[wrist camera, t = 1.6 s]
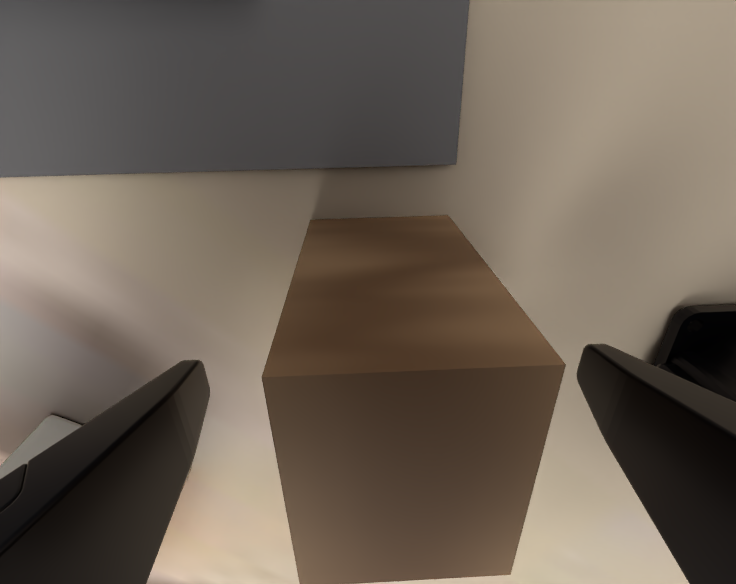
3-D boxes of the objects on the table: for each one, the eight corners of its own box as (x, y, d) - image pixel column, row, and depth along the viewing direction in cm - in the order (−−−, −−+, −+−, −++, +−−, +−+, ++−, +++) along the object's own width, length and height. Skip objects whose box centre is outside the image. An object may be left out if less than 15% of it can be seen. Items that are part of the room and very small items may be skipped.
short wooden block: (448, 215, 11) (565, 364, 5) (437, 354, 14) (510, 574, 7) (310, 219, 11) (261, 377, 5) (323, 359, 14) (300, 586, 7)
